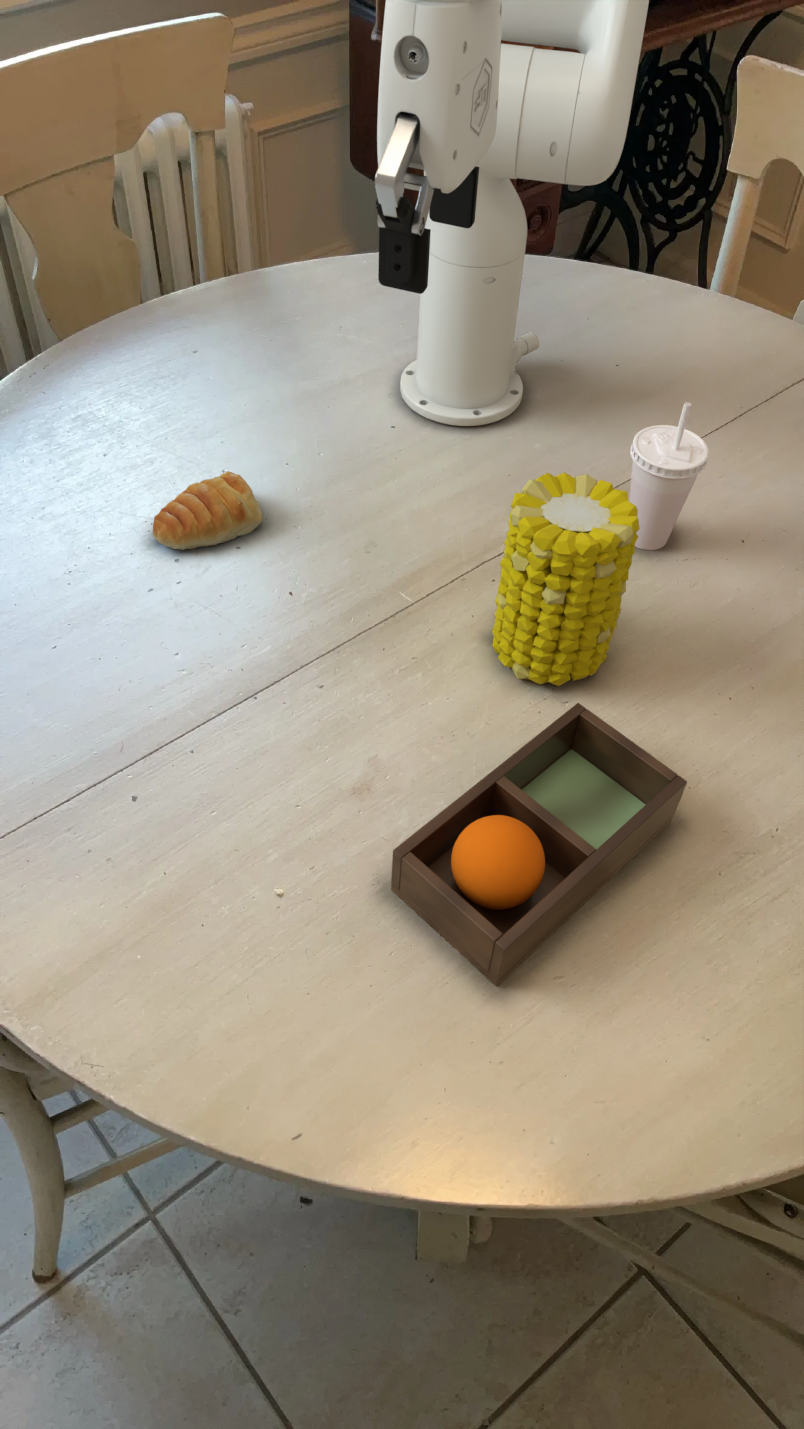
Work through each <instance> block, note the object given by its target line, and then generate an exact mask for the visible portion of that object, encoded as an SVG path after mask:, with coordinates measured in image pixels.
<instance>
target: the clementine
mask: <svg viewBox="0 0 804 1429" xmlns="http://www.w3.org/2000/svg"><path fill="white" fill-rule="evenodd" d="M451 868H452V873H453V877H454V879H455V882H456V884H457V886H458V887H459V889H460V890H461V892H462V893H463V894H464V895H465V896H466V897H467V898H468V899H470V900H471V901H472V902H474V903H475V904H477V905H479V906H481V907H485V908H488V909H494V910H503V909H509V908H513V907H516V906H518V905H520V904H522V903H524V902H525V901H526V900H528V899H529V898H530V897H531V896H532V895H533V894H534V893H535V891H536V890H537V889H538V887H539V885H540V883H541V881H542V879H543V875H544V870H545V856H544V851H543V847H542V845H541V843H540V840H539V839H538V837H537V836H536V834H535V833H534V832H533V831H532V829H530V828H529V827H528V826H527V825H526V824H524V823H523V822H521V821H519V820H517V819H515V818H512V817H509V816H504V815H492V816H486V817H483V818H480V819H478V820H476V821H474V822H472V823H471V824H470V825H468V826H467V827H466V828H465V829H464V830H463V831H462V832H461V834H460V835H459V837H458V838H457V840H456V842H455V844H454V847H453V851H452V855H451Z"/></svg>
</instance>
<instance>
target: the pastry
mask: <svg viewBox="0 0 804 1429" xmlns="http://www.w3.org/2000/svg"><path fill="white" fill-rule="evenodd" d="M263 518H264V516H263V512H262V508H261V506H260V503H259V501H258V500H257V498H256V497H255V495H254V492H253V490H252V488H251V486H250V485H249V483H248V482H247V481H246V480H245V479H244V478H243V476H242V475H241V474H238V473H234V472H233V471H228V470H227V471H226V472H223V473H221V474H220V475H219V476H215V477H213V478H209V479H203V480H202V481H200V482H194V483H192V484H190V485H188V486H187V487H186V489H185V490H183V491H182V492H181V493H179V494H178V495H177V496H176V497H175V498H174V499H172V500H171V501H169V502H168V503H167V504H166V505H165V506H164V507H162V508H161V509H160V511H158V513H157V514H156V515H154V518H153V523H152V537H153V538H154V539H155V541H157V542H158V543H159V544H161V545H162V546H165V547H167V548H170V549H173V550H182V551H184V550H187V549H188V550H195V549H196V548H201V547H208V548H209V547H212V546H216V545H219V544H222V543H227V542H229V541H231V540H235V539H236V538H237V537H240V536H247V535H248V534H251V533H252V532H254V531H255V529H257V528H258V527H259V526H260V524H262V522H263Z"/></svg>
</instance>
